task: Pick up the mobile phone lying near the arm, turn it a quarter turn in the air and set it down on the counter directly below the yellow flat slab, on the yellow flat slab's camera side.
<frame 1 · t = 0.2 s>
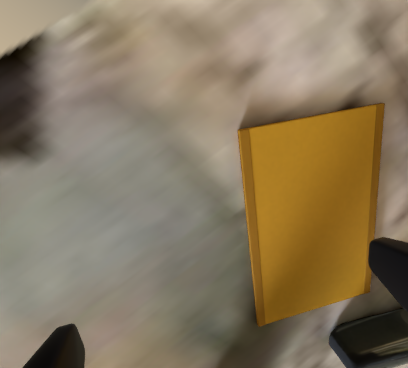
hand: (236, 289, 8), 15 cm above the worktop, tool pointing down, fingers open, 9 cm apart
mobile phone: (381, 316, 33), on the worktop
yellow flat slab: (313, 223, 26), on the worktop
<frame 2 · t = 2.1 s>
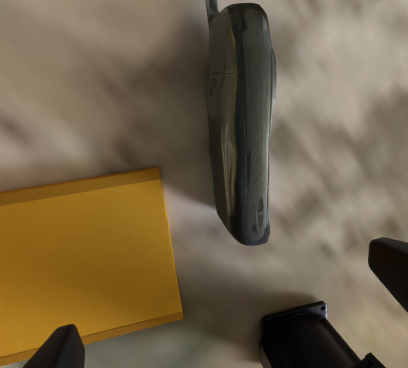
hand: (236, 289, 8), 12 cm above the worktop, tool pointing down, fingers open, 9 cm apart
mobile phone: (225, 119, 19), on the worktop
yellow flat slab: (30, 278, 20), on the worktop
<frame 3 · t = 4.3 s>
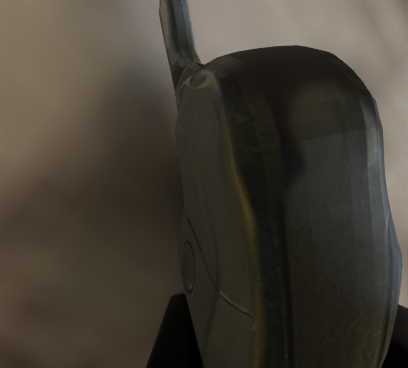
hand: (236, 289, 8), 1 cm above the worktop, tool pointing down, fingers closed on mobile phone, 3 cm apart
mobile phone: (225, 265, 9), on the worktop, touching gripper
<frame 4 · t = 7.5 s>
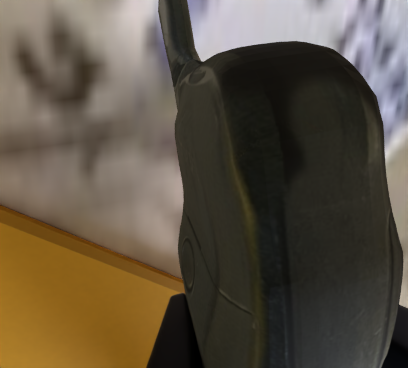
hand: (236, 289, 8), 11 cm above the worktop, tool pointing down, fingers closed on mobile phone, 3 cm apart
mobile phone: (225, 264, 9), point 10 cm above the worktop, touching gripper
yellow flat slab: (85, 330, 20), on the worktop
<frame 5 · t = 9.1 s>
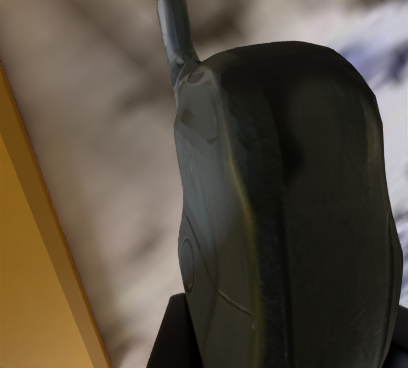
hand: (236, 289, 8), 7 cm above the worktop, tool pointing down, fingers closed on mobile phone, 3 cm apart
mobile phone: (225, 264, 9), point 6 cm above the worktop, touching gripper
when the fingers open (1 cm above the worktop, at t = 10.6 s): mobile phone stays where it is, on the worktop.
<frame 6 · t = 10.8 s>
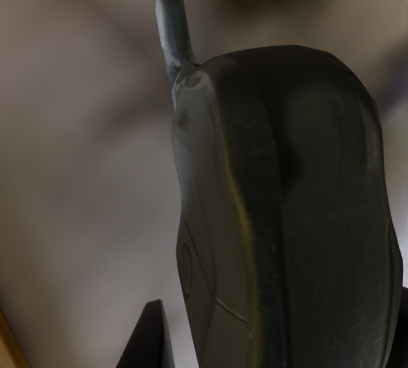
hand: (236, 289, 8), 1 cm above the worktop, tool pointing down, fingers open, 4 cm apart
mobile phone: (224, 267, 9), on the worktop
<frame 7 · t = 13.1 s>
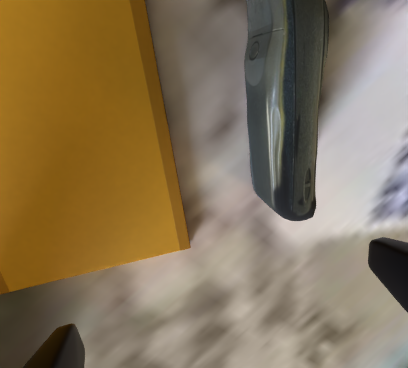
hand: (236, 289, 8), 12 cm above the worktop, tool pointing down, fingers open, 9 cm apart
mobile phone: (261, 90, 18), on the worktop
yellow flat slab: (52, 124, 16), on the worktop
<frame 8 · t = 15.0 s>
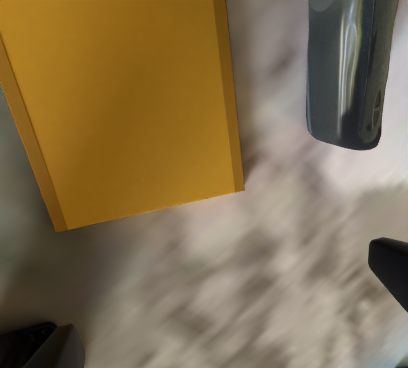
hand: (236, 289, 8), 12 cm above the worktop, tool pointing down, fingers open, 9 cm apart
mobile phone: (319, 27, 19), on the worktop
yellow flat slab: (120, 52, 16), on the worktop
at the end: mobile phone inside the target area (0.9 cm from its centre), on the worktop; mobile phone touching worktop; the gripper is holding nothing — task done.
